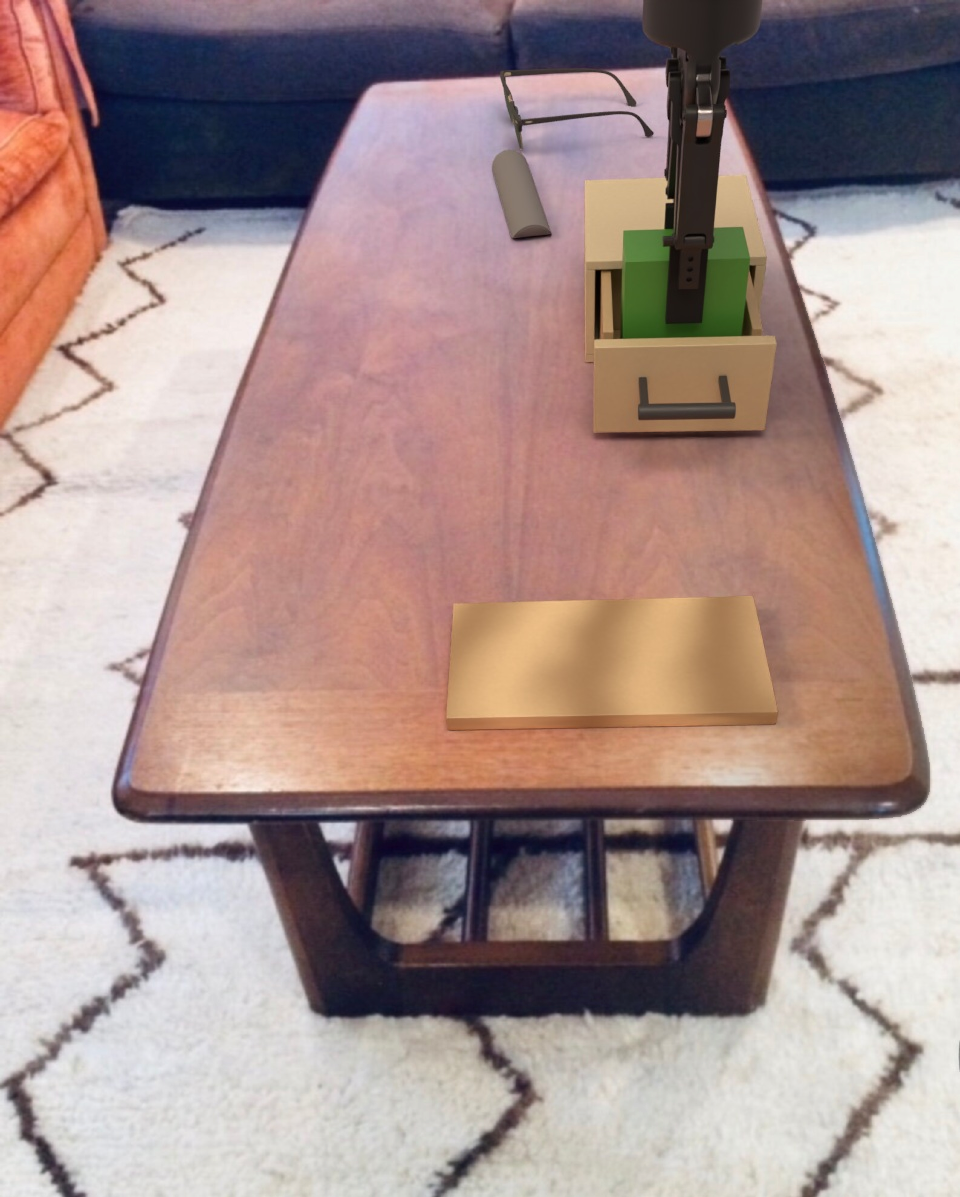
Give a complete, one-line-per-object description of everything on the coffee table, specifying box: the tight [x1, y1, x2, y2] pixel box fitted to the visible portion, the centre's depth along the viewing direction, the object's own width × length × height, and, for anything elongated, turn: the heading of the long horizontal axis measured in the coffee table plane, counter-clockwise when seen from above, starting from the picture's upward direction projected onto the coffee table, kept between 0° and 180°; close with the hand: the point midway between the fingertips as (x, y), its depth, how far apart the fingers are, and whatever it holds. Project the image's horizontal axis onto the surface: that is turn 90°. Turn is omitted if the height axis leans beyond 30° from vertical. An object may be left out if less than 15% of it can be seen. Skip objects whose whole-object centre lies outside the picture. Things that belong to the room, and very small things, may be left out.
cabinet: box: [583, 174, 768, 363], centre depth 98 cm, size 16×15×10 cm
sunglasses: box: [499, 67, 655, 151], centre depth 132 cm, size 16×17×5 cm
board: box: [445, 595, 779, 731], centre depth 70 cm, size 20×10×1 cm, turn 88°
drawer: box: [592, 269, 778, 434], centre depth 87 cm, size 19×13×8 cm
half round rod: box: [491, 149, 552, 239], centre depth 120 cm, size 4×20×2 cm, turn 6°
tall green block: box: [620, 227, 750, 339], centre depth 86 cm, size 5×9×12 cm, turn 86°
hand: (681, 301), depth 85 cm, fingers closed on tall green block, 5 cm apart
